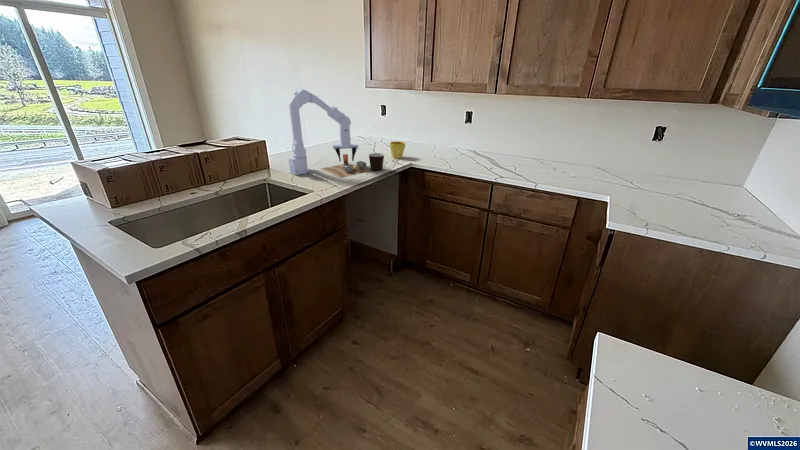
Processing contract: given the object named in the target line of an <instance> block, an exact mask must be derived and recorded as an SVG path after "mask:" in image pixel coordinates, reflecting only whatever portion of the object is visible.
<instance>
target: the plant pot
mask: <svg viewBox="0 0 800 450" xmlns="http://www.w3.org/2000/svg"><path fill="white" fill-rule="evenodd" d="M389 148H390V152H391V157H392V158H393V159H402V158H403V155H404V150H405V148H406V142H403V141H390V142H389Z"/></svg>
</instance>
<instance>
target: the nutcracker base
mask: <svg viewBox="0 0 800 450" xmlns="http://www.w3.org/2000/svg"><path fill="white" fill-rule="evenodd" d="M348 163H349V162H348ZM349 165H351V166H352V173H346V171H345V168H344V163H342V164H337V165H332V166H327V167H322V168H320V170H322V171H324V172H326V173H329V174H331V175H333V176H336V177H339V178H341V179H342V178H343V179H344V178H346V177H351V176H355V175H360V174H365V173H369V172H371V170H369V169H367V163H366V162H365V161H362V160H359V161H356V165H358V166H359V168H360V169H359V170H357V171H354V170H353V166H354V165H355V164H353V163H349Z"/></svg>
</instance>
